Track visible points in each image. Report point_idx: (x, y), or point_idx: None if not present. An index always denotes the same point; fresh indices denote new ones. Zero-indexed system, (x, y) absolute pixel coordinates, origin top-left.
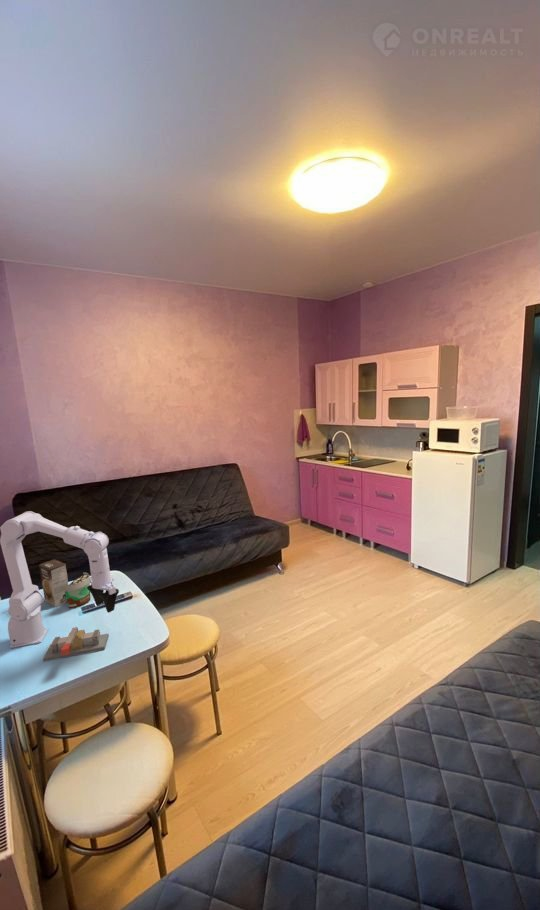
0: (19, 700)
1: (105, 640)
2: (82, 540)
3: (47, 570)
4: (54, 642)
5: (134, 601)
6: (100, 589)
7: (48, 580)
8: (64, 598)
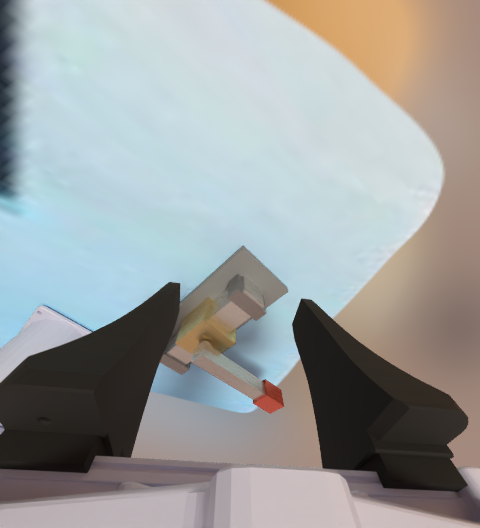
0: (256, 407)
1: (267, 275)
2: None
3: None
4: (178, 368)
5: None
6: (139, 366)
7: None
8: None
